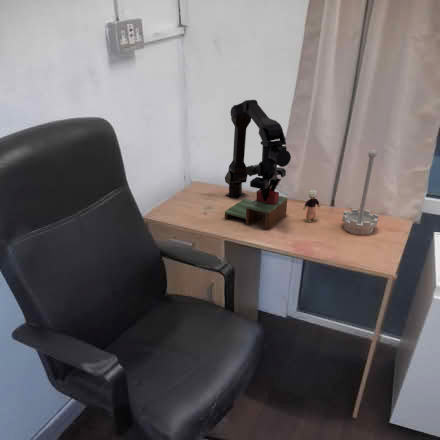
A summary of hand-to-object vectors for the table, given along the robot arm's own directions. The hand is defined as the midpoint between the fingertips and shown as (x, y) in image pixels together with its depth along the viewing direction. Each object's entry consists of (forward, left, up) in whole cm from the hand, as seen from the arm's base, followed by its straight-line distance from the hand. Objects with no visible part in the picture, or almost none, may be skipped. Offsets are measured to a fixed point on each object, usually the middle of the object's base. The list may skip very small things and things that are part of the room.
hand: (267, 198), depth 164 cm
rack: (0, -5, -9) cm, 10 cm away
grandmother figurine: (-9, +15, -9) cm, 20 cm away
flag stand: (-12, +34, -9) cm, 37 cm away
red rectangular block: (0, 0, -1) cm, 1 cm away
